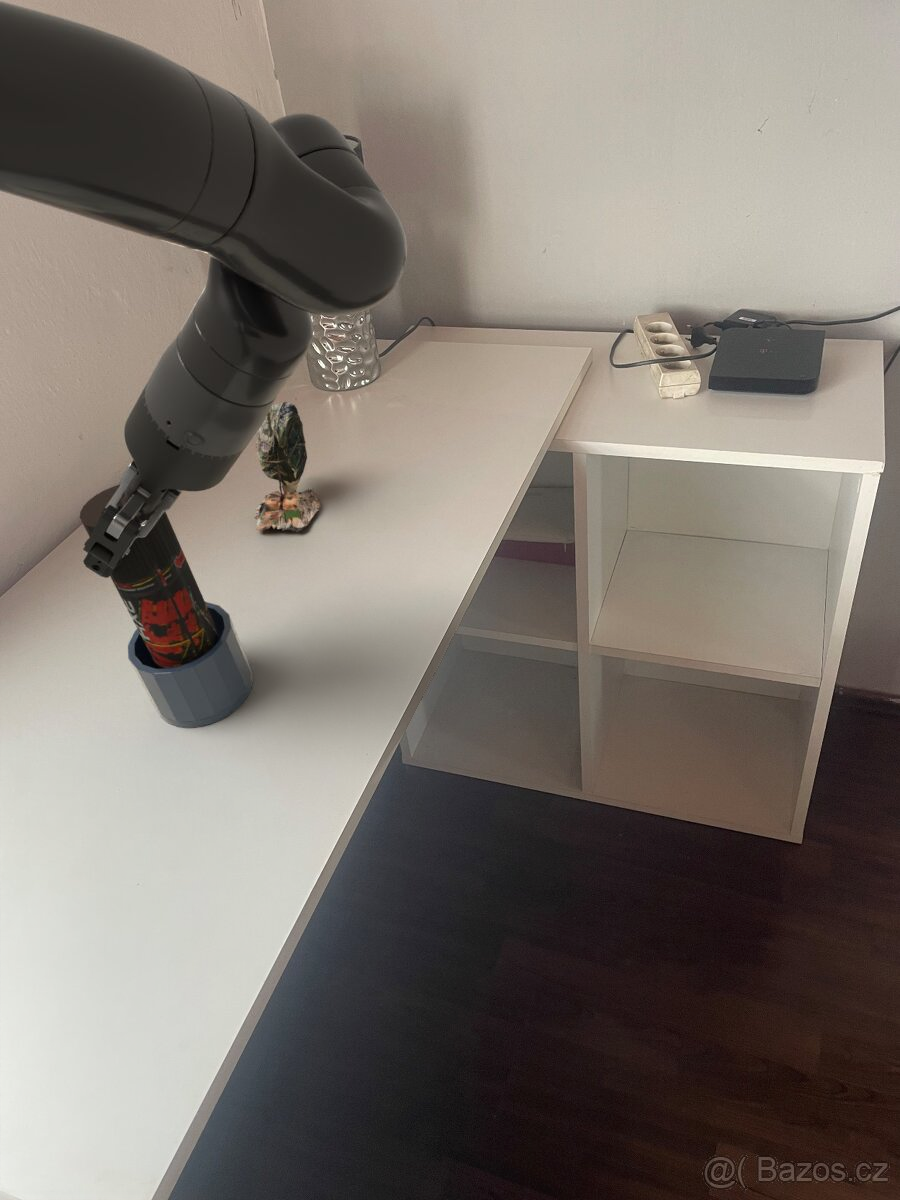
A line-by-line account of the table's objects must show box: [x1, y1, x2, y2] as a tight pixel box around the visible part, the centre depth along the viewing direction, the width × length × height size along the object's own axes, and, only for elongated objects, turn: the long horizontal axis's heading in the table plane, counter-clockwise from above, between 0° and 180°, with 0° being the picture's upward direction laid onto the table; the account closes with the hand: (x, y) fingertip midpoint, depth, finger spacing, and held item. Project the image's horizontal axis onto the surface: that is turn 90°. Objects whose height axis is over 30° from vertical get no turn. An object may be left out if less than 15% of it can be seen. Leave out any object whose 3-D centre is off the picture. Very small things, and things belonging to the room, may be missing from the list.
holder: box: [127, 601, 254, 729], centre depth 78 cm, size 9×9×7 cm
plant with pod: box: [254, 397, 321, 533], centre depth 94 cm, size 8×11×20 cm
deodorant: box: [79, 484, 219, 668], centre depth 71 cm, size 6×6×15 cm
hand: (118, 542), depth 69 cm, fingers closed on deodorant, 6 cm apart
